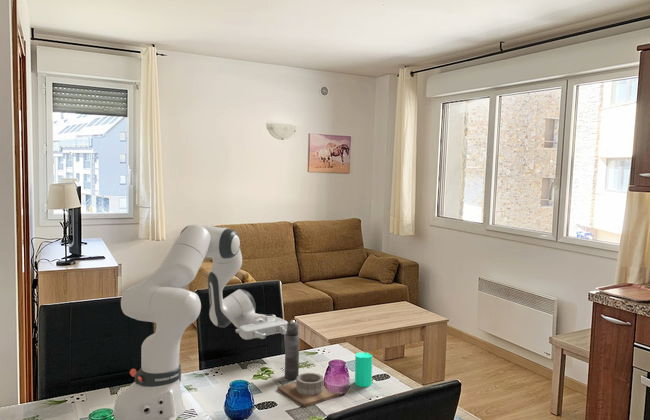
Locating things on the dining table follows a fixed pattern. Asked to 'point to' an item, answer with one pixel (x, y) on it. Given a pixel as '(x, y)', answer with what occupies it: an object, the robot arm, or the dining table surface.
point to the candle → (363, 369)
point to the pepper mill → (292, 351)
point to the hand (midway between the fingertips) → (274, 334)
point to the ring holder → (307, 390)
